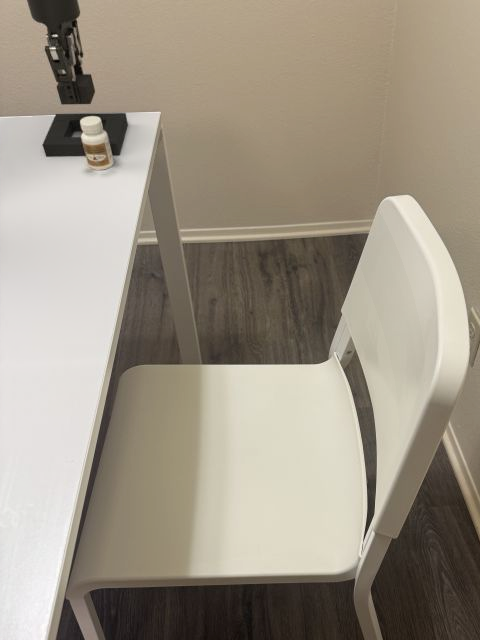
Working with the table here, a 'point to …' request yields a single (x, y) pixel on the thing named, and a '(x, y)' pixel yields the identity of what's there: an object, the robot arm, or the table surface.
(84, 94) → the small pad
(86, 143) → the pill bottle
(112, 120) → the base pad
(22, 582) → the table surface
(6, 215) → the table surface
